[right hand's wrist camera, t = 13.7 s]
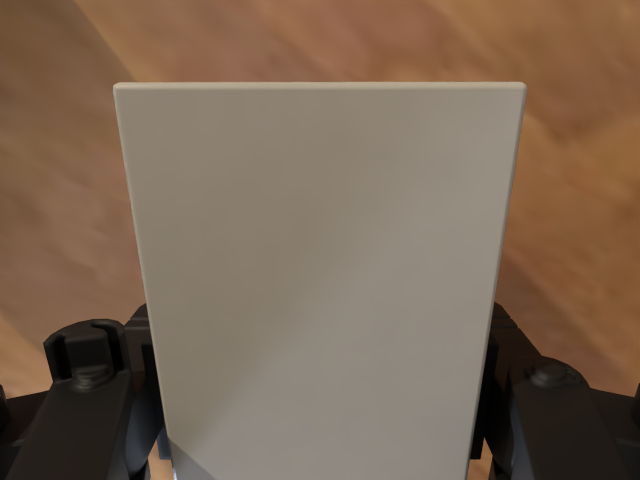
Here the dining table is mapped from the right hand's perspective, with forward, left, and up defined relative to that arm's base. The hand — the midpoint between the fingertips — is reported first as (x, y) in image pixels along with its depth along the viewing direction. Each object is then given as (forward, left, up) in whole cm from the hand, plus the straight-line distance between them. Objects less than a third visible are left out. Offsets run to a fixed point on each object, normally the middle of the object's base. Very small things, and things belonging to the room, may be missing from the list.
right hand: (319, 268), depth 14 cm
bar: (-11, -18, -1) cm, 21 cm away
